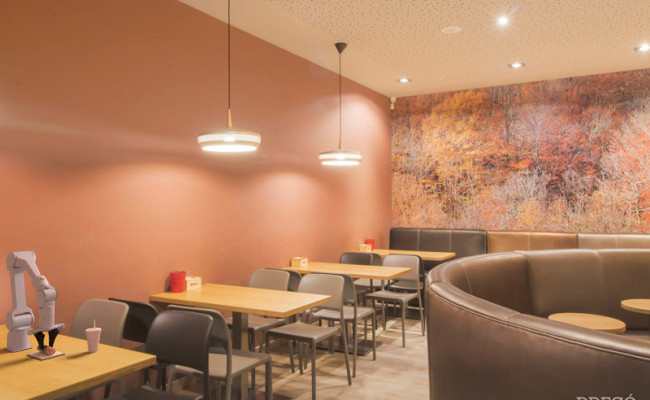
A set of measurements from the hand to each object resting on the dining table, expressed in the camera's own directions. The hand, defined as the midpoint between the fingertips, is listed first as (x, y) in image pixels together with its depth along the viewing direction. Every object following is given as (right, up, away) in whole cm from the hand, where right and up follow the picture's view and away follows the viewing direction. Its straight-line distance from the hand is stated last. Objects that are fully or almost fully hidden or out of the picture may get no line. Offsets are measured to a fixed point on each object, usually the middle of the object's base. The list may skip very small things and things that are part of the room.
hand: (46, 348), depth 195 cm
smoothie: (+18, -3, +5) cm, 19 cm away
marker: (0, -2, 0) cm, 2 cm away
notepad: (0, -3, 0) cm, 3 cm away
